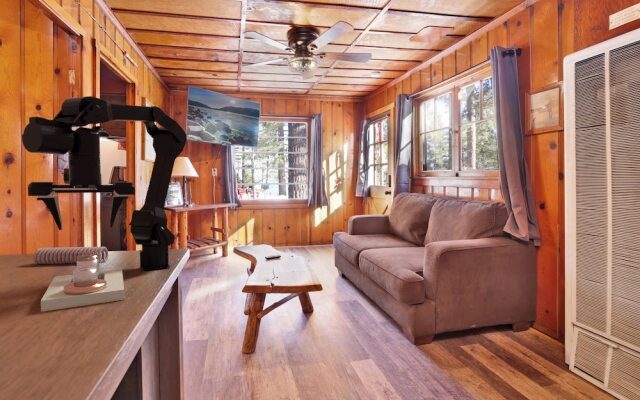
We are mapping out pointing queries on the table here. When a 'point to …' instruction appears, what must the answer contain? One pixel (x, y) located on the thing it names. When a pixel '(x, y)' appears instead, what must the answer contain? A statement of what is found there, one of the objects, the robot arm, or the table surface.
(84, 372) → the table surface
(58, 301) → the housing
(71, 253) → the coil
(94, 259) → the loose cylinder
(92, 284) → the copper flanged knob
